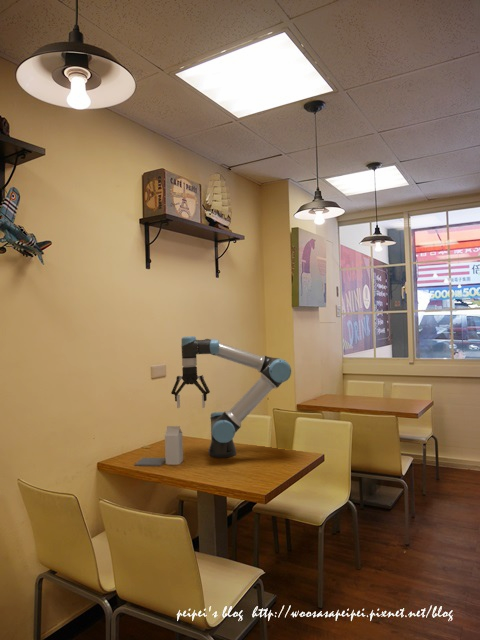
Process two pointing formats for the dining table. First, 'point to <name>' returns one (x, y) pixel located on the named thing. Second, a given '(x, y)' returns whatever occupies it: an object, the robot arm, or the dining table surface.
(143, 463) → the mat
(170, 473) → the dining table surface
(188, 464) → the dining table surface
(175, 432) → the milk carton
